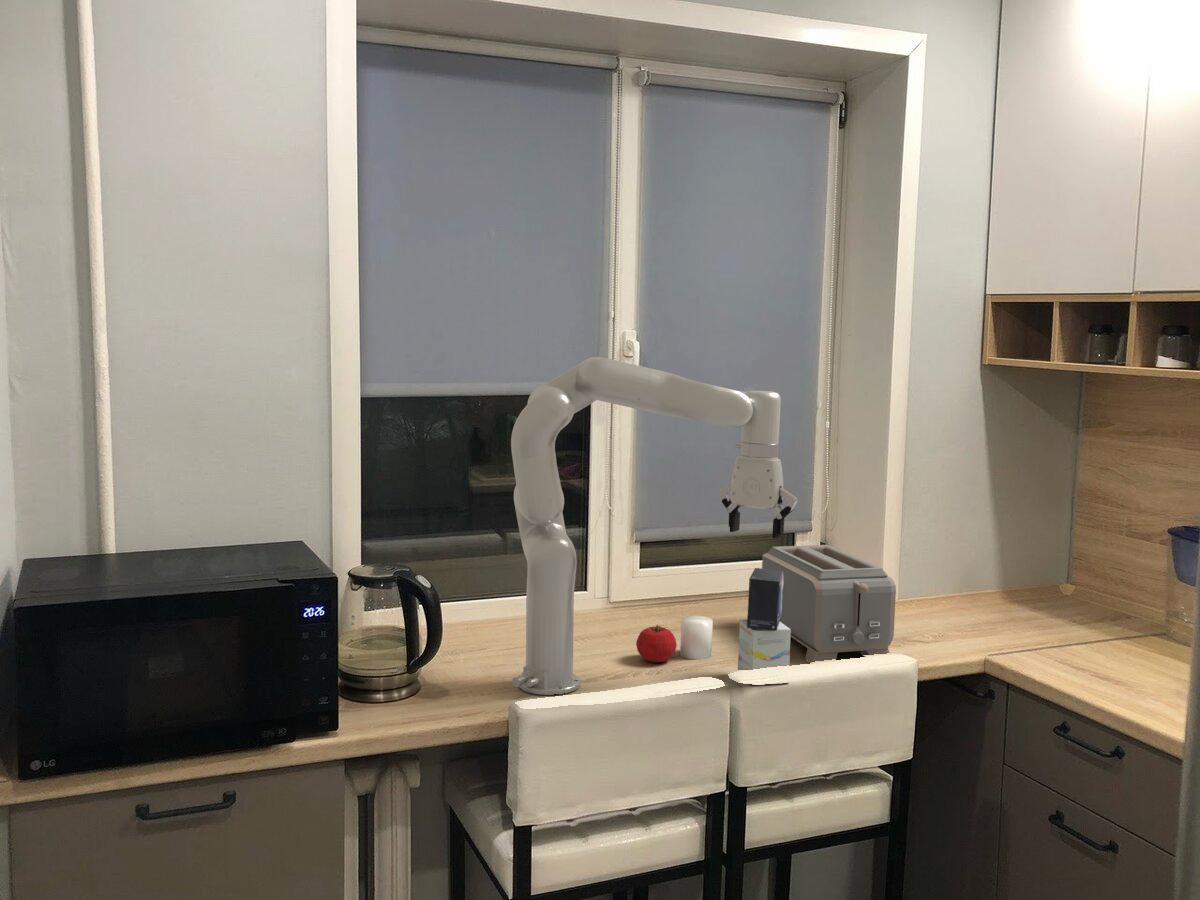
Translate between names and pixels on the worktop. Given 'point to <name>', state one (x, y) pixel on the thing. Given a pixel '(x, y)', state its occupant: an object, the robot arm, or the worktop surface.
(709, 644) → the white capsule cylinder
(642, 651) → the tomato
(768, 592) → the small box
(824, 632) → the toaster
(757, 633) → the ink box
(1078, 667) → the worktop surface
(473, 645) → the worktop surface
